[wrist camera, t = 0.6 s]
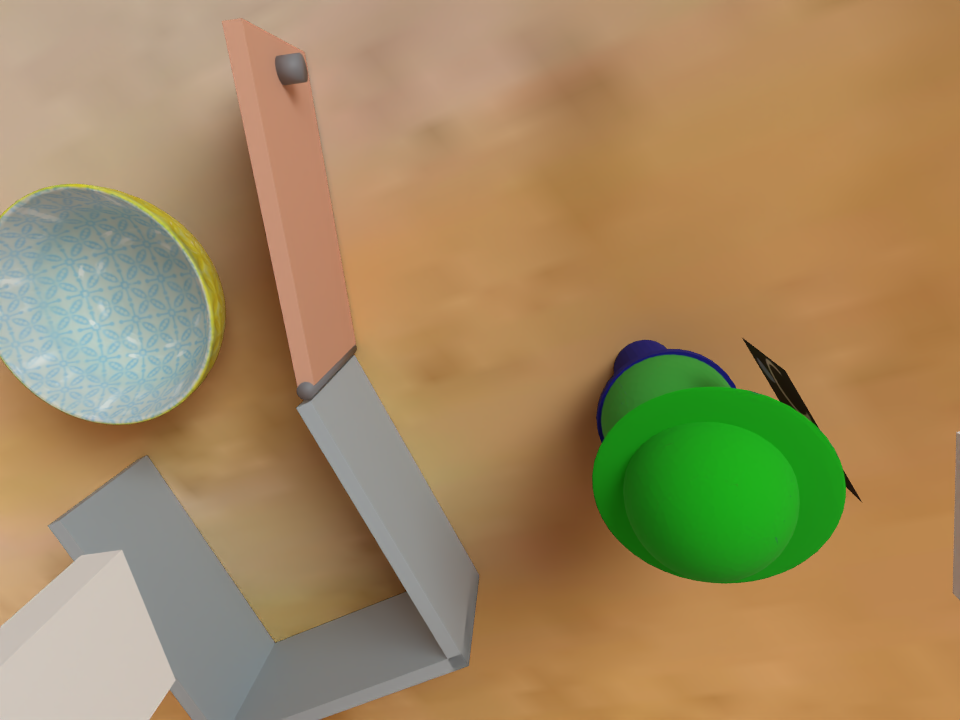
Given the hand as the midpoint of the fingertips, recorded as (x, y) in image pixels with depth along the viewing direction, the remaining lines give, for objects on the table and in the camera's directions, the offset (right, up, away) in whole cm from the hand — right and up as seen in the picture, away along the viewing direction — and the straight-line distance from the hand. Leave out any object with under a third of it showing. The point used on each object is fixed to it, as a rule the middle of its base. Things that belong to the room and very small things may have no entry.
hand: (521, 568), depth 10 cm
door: (-8, +11, +23) cm, 27 cm away
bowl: (-18, +7, +25) cm, 32 cm away
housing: (-12, -6, +29) cm, 31 cm away
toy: (+9, +2, +25) cm, 27 cm away
